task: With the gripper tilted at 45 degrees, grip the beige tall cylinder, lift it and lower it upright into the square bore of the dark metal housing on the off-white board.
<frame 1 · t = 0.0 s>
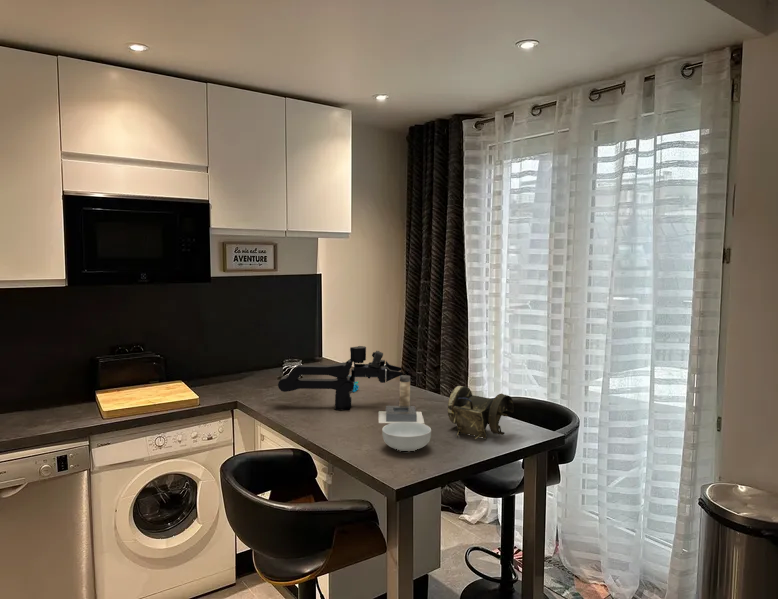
hand: (402, 371, 237), 17 cm above the countertop, tool horizontal, fingers open, 9 cm apart
gear: (350, 391, 268), on the countertop
beige tall cylinder: (404, 410, 236), on the countertop
cereal bowl: (406, 448, 191), on the countertop
bench grinder: (475, 434, 207), on the countertop
housing: (400, 417, 225), resting on board
board: (400, 418, 225), on the countertop
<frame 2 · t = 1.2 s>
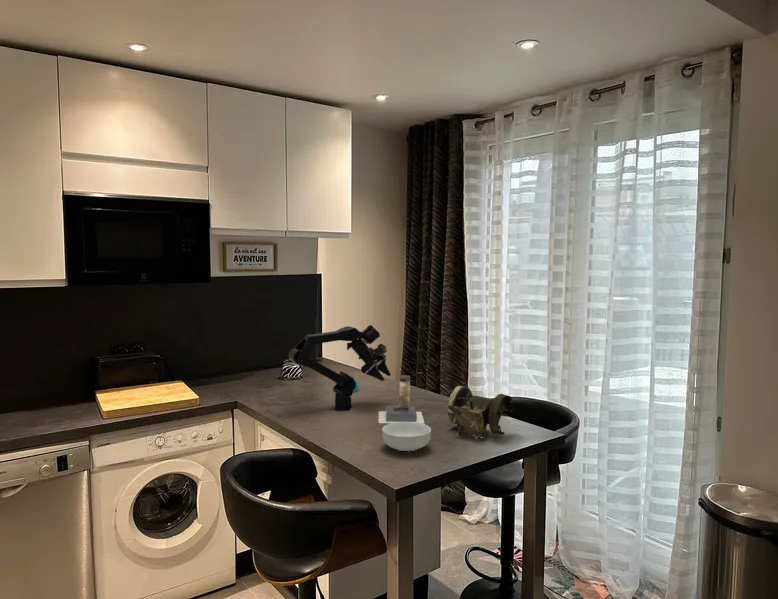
hand: (386, 377, 237), 14 cm above the countertop, tool tilted 45°, fingers open, 9 cm apart
nothing on the countertop moved.
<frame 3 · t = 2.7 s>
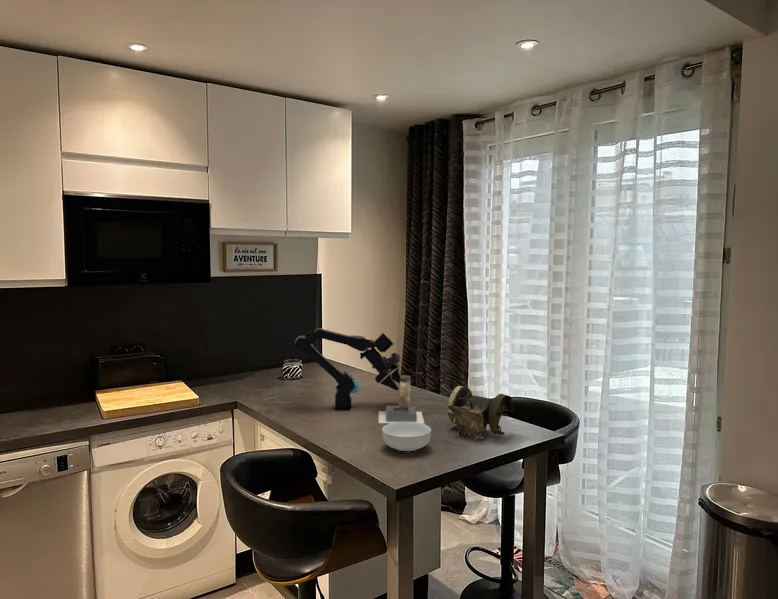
hand: (400, 387, 235), 10 cm above the countertop, tool tilted 45°, fingers open, 9 cm apart
nothing on the countertop moved.
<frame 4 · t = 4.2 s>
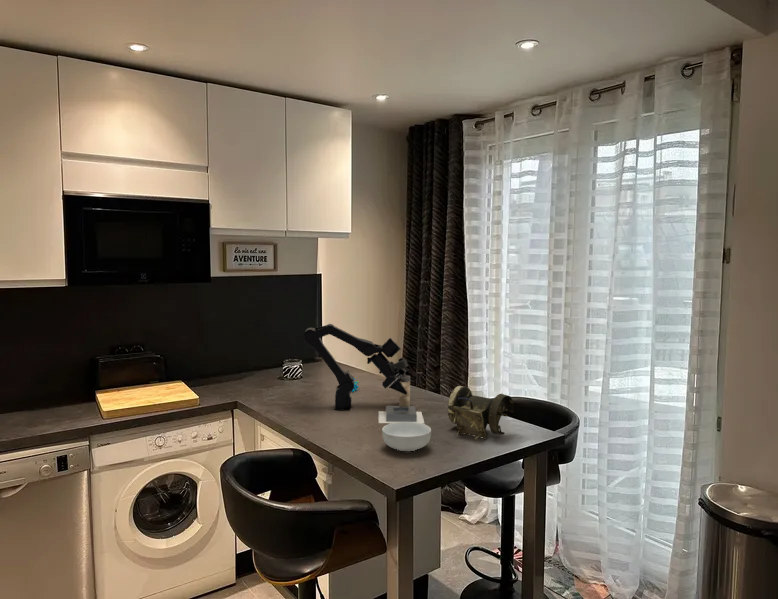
hand: (407, 392, 234), 8 cm above the countertop, tool tilted 45°, fingers closed on beige tall cylinder, 4 cm apart
beige tall cylinder: (404, 410, 236), on the countertop, touching gripper
everything else where it was.
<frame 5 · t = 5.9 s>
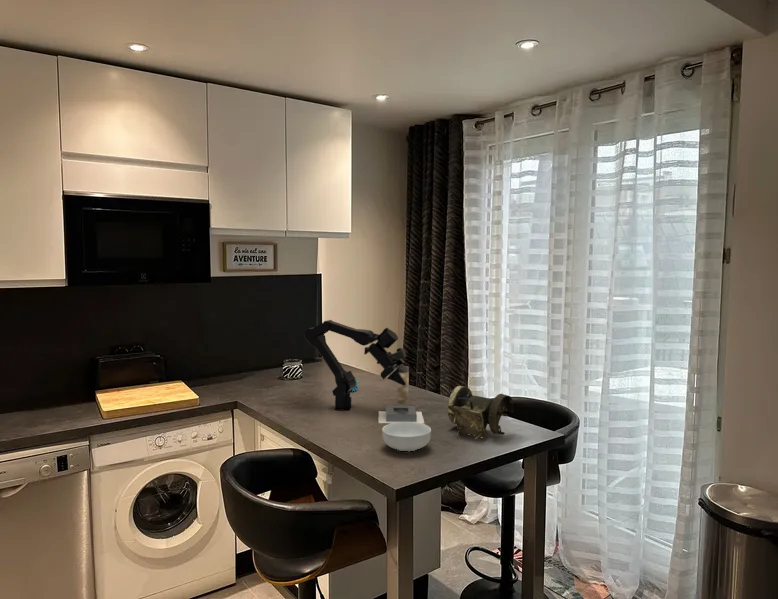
hand: (406, 383, 228), 14 cm above the countertop, tool tilted 45°, fingers closed on beige tall cylinder, 4 cm apart
beige tall cylinder: (402, 402, 229), point 5 cm above the countertop, touching gripper
everything else where it was.
when the fingers open (9 cm above the countertop, at t = 7.6 s): beige tall cylinder stays where it is, resting on board.
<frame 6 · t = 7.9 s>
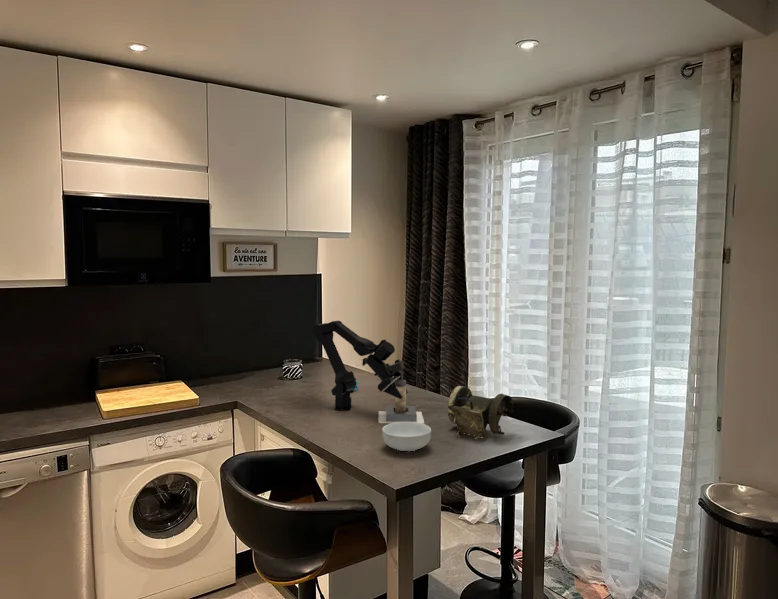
hand: (404, 395, 223), 10 cm above the countertop, tool tilted 45°, fingers open, 8 cm apart
beige tall cylinder: (400, 416, 225), point 1 cm above the countertop, touching board
everything else where it was.
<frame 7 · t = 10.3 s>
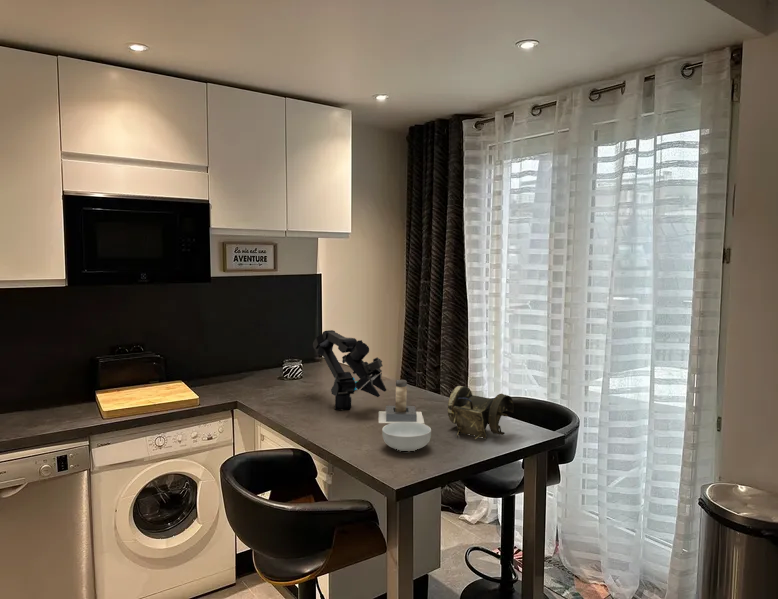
hand: (382, 393, 226), 10 cm above the countertop, tool tilted 45°, fingers open, 9 cm apart
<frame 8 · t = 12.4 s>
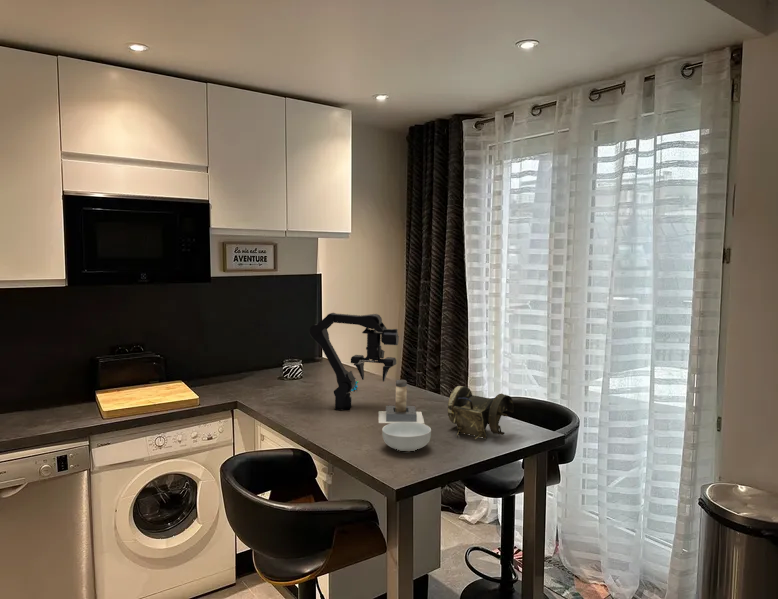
hand: (373, 380, 234), 13 cm above the countertop, tool pointing down, fingers open, 9 cm apart
at the end: beige tall cylinder 0.1 cm off-centre on the housing, point 0.0 cm above the housing's base; beige tall cylinder tilted 0°; the gripper is holding nothing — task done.
